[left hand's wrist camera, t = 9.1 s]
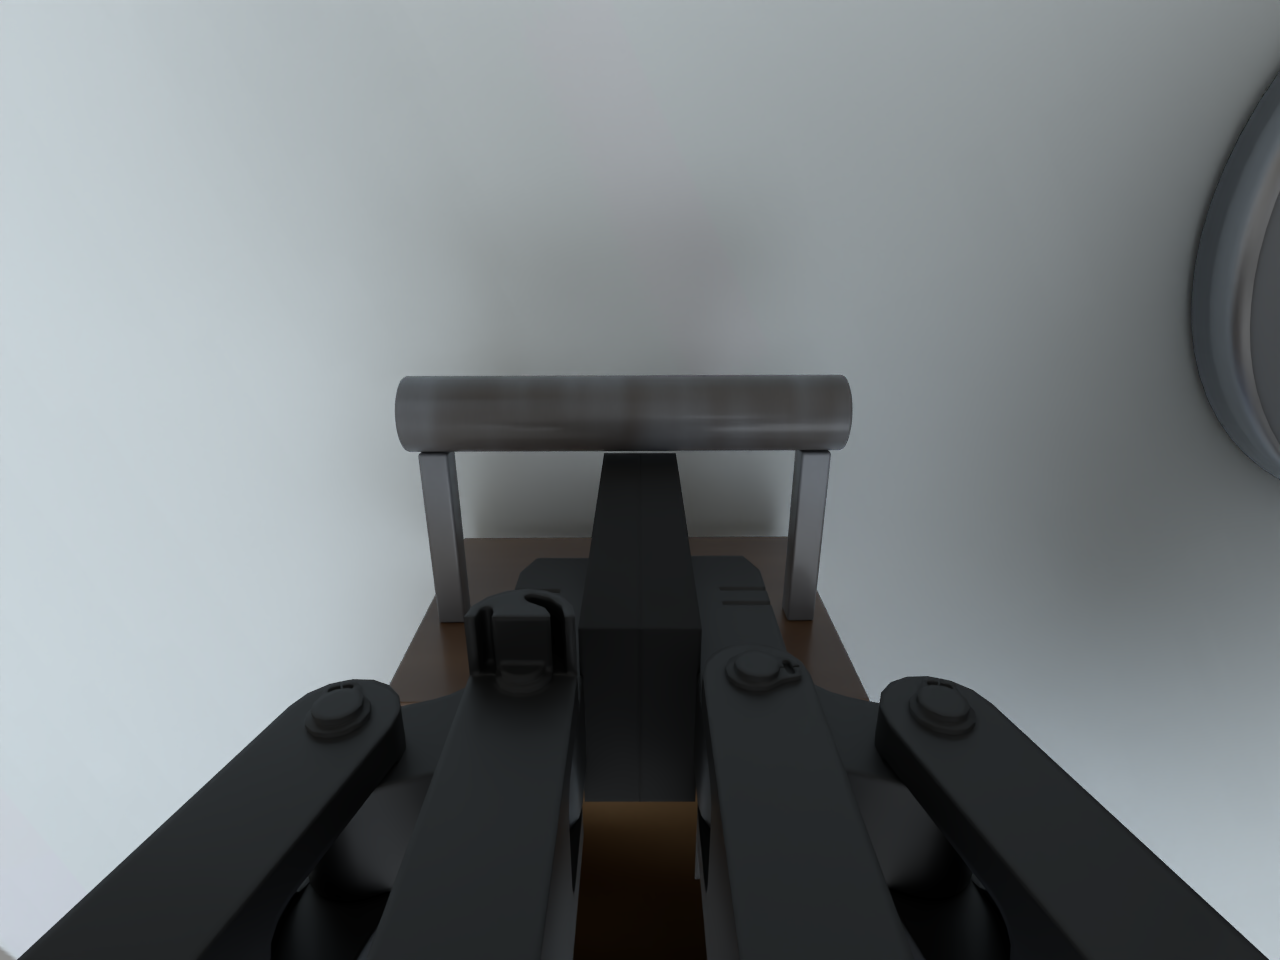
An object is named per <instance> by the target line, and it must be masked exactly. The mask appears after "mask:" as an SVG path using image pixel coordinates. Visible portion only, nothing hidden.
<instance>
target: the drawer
mask: <svg viewBox="0 0 1280 960" xmlns="http://www.w3.org/2000/svg"><path fill="white" fill-rule="evenodd" d="M395 421H396V428H397V433H398V437H399V440H400V442H401V445H402V446H403V448H404V449H405V450H407V451H409V452H421V453H420V454H419V456H418V457H419V465H420V473H421V481H422V489H423V497H424V505H425V513H426V521H427V529H428V537H429V545H430V553H431V561H432V568H433V576H434V584H435V592H436V595H435V597H434V598H433V600H432V602H431V604H430V606H429V608H428V610H427V612H426V614H425V616H424V618H423V620H422V622H421V624H420V626H419V628H418V630H417V632H416V634H415V636H414V638H413V640H412V642H411V644H410V646H409V648H408V649H407V651H406V653H405V655H404V657H403V659H402V661H401V663H400V665H399V667H398V669H397V671H396V673H395V675H394V677H393V679H392V681H391V683H390V686H391V687H392V688H393V690H394V691H395V692H396V693H397V694H398V695H399V698H400V704H401V706H404V705H409V704H414V703H418V702H423V701H428V700H432V699H436V698H439V697H443V696H446V695H450V694H452V693H454V692H456V691H458V690H461V689H463V688H465V686H466V684H467V681H468V678H469V675H470V673H469V664H468V654H467V645H466V636H465V626H464V616H465V614H466V613H467V612H468V611H469V609H470V608H471V607H472V606H473V605H475V604H476V603H478V602H480V601H481V600H483V599H485V598H486V597H488V596H491V595H495V594H498V593H501V592H504V591H509V590H515V587H516V584H517V581H518V578H519V575H520V572H521V571H523V570H524V569H525V568H526V567H527V566H528V565H529V564H531V563H532V562H533V561H534V560H535V559H536V558H589V552H590V546H591V539H592V538H465V539H463V529H462V520H461V510H460V501H459V491H458V482H457V472H456V463H455V453H454V452H476V451H709V450H795V462H794V474H793V485H792V497H791V509H790V520H789V532H788V537H688V539H689V546H690V552H691V556H744V557H745V558H746V559H747V560H749V561H750V562H751V563H752V564H753V565H754V566H756V567H757V568H758V569H759V570H760V572H761V575H762V578H763V581H764V584H765V587H766V588H765V589H766V590H767V593H768V596H769V599H770V605H772V608H773V611H774V614H775V617H776V620H777V623H778V626H779V629H780V632H781V635H782V638H783V641H784V644H785V647H786V650H787V652H788V653H790V654H791V655H793V656H794V657H796V658H797V659H799V660H800V661H801V662H802V663H803V664H804V666H805V667H806V669H807V670H808V671H809V673H810V675H811V677H812V680H813V683H814V684H815V685H817V686H819V687H821V688H824V689H826V690H828V691H830V692H833V693H837V694H840V695H844V696H847V697H852V698H857V699H861V700H866V701H869V698H868V696H867V694H866V692H865V690H864V687H863V685H862V683H861V681H860V679H859V677H858V675H857V673H856V671H855V669H854V667H853V665H852V662H851V660H850V658H849V656H848V654H847V652H846V650H845V648H844V646H843V644H842V642H841V640H840V637H839V635H838V633H837V631H836V629H835V627H834V625H833V623H832V621H831V619H830V617H829V615H828V612H827V610H826V608H825V606H824V604H823V602H822V600H821V598H820V596H819V594H818V592H817V580H818V571H819V562H820V552H821V543H822V533H823V524H824V514H825V505H826V495H827V486H828V476H829V467H830V457H831V454H830V452H829V451H828V450H840V449H842V448H844V446H845V445H846V443H847V441H848V438H849V434H850V430H851V424H852V396H851V390H850V386H849V383H848V381H847V379H846V378H845V377H844V376H842V375H652V376H407V377H404V378H403V379H402V380H401V381H400V383H399V386H398V389H397V394H396V400H395ZM697 806H698V802H697V792H696V800H695V802H585V800H584V796H583V832H584V838H583V849H582V861H581V872H580V884H579V895H578V907H577V918H576V930H575V941H574V953H573V960H707V952H706V940H705V929H704V917H703V906H702V894H701V883H700V879H695V857H696V832H697Z"/></svg>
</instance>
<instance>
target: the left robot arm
mask: <svg viewBox="0 0 1280 960" xmlns="http://www.w3.org/2000/svg"><path fill="white" fill-rule="evenodd" d="M1192 334H1193V344H1194V352H1195V357H1196V362H1197V366H1198V371H1199V376H1200V378H1201V381H1202V384H1203V387H1204V390H1205V393H1206V396H1207V399H1208V401H1209V403H1210V405H1211V407H1212V409H1213V411H1214V413H1215V415H1216V417H1217V419H1218V420H1219V422H1220V423H1221V425H1222V426H1223V427H1224V429H1225V430H1226V432H1227V433H1228V435H1229V436H1230V438H1231V439H1232V440H1233V441H1234V442H1235V443H1236V444H1237V446H1238V447H1239V448H1240V449H1241V450H1242V451H1243V452H1244V453H1245V454H1246V455H1247V456H1248V457H1249V458H1250V459H1252V460H1253V461H1254V462H1255V463H1256V464H1258V465H1259V466H1260V467H1261V468H1262V469H1264V470H1266V471H1267V472H1269V473H1270V474H1272V475H1273V476H1275V477H1276V478H1278V479H1280V72H1279V73H1278V75H1277V76H1276V78H1275V79H1274V81H1273V82H1272V84H1271V85H1270V87H1269V88H1268V90H1267V91H1266V93H1265V94H1264V96H1263V97H1262V98H1261V100H1260V101H1259V103H1258V105H1257V107H1256V108H1255V110H1254V112H1253V114H1252V115H1251V117H1250V119H1249V121H1248V122H1247V124H1246V126H1245V128H1244V129H1243V131H1242V133H1241V135H1240V137H1239V139H1238V141H1237V143H1236V145H1235V147H1234V149H1233V151H1232V153H1231V155H1230V157H1229V160H1228V162H1227V164H1226V166H1225V168H1224V170H1223V173H1222V175H1221V178H1220V181H1219V183H1218V186H1217V188H1216V191H1215V193H1214V196H1213V199H1212V201H1211V204H1210V208H1209V211H1208V214H1207V218H1206V221H1205V224H1204V228H1203V231H1202V235H1201V239H1200V244H1199V249H1198V254H1197V259H1196V264H1195V271H1194V280H1193V290H1192ZM765 588H766V587H765V584H764V581H763V578H762V575H761V572H760V570H759V569H758V568H757V567H756V566H754V565H753V564H752V563H751V562H750V561H749V560H747V559H746V558H745V557H744V556H691V552H690V546H689V539H688V532H687V525H686V519H685V512H684V505H683V499H682V492H681V485H680V478H679V472H678V465H677V458H676V453H604V458H603V465H602V472H601V478H600V485H599V492H598V499H597V505H596V512H595V519H594V525H593V532H592V539H591V546H590V552H589V558H536V559H535V560H534V561H533V562H532V563H531V564H529V565H528V566H527V567H526V568H525V569H524V570H523V571H521V572H520V575H519V578H518V581H517V584H516V587H515V590H509V591H504V592H501V593H498V594H495V595H491V596H488V597H486V598H485V599H483V600H481V601H480V602H478V603H476V604H475V605H473V606H472V607H471V608H470V609H469V611H468V612H467V613H466V614H465V616H464V626H465V636H466V645H467V654H468V664H469V673H470V675H469V678H468V681H467V684H466V686H465V688H463V689H461V690H458V691H456V692H454V693H452V694H450V695H446V696H443V697H439V698H436V699H432V700H428V701H423V702H418V703H414V704H409V705H404V706H401V704H400V698H399V695H398V694H397V693H396V692H395V691H394V690H393V688H392V687H391V686H390V685H387V684H384V683H381V682H378V681H375V680H360V679H352V680H347V681H342V682H337V683H332V684H329V685H326V686H324V687H321V688H319V689H317V690H314V691H312V692H310V693H307V694H306V695H305V696H303V697H302V698H300V699H299V700H298V701H296V702H295V703H293V704H292V705H291V706H289V707H288V708H287V709H286V710H285V711H284V712H283V713H282V714H281V715H280V716H278V717H277V718H276V719H275V720H274V721H273V722H272V723H271V724H270V725H269V726H268V727H267V728H266V729H264V730H263V731H262V732H261V733H260V734H259V735H258V736H257V737H256V738H255V739H254V740H253V741H252V742H251V743H249V744H248V745H247V746H246V747H245V748H244V749H243V750H242V751H241V752H240V753H239V754H238V755H237V756H235V757H234V758H233V759H232V760H231V761H230V762H229V763H228V764H227V765H226V766H225V767H224V768H223V769H222V770H220V771H219V772H218V773H217V774H216V775H215V776H214V777H213V778H212V779H211V780H210V781H209V782H208V783H206V784H205V785H204V786H203V787H202V788H201V789H200V790H199V791H198V792H197V793H196V794H195V795H194V796H193V797H191V798H190V799H189V800H188V801H187V802H186V803H185V804H184V805H183V806H182V807H181V808H180V809H179V810H177V811H176V812H175V813H174V814H173V815H172V816H171V817H170V818H169V819H168V820H167V821H166V822H165V823H164V824H162V825H161V826H160V827H159V828H158V829H157V830H156V831H155V832H154V833H153V834H152V835H151V836H150V837H148V838H147V839H146V840H145V841H144V842H143V843H142V844H141V845H140V846H139V847H138V848H137V849H136V850H135V851H133V852H132V853H131V854H130V855H129V856H128V857H127V858H126V859H125V860H124V861H123V862H122V863H121V864H119V865H118V866H117V867H116V868H115V869H114V870H113V871H112V872H111V873H110V874H109V875H108V876H107V877H105V878H104V879H103V880H102V881H101V882H100V883H99V884H98V885H97V886H96V887H95V888H94V889H93V890H92V891H90V892H89V893H88V894H87V895H86V896H85V897H84V898H83V899H82V900H81V901H80V902H79V903H78V904H76V905H75V906H74V907H73V908H72V909H71V910H70V911H69V912H68V913H67V914H66V915H65V916H64V917H63V918H61V919H60V920H59V921H58V922H57V923H56V924H55V925H54V926H53V927H52V928H51V929H50V930H49V931H47V932H46V933H45V934H44V935H43V936H42V937H41V938H40V939H39V940H38V941H37V942H36V943H35V944H34V945H32V946H31V947H30V948H29V949H28V950H27V951H26V952H25V953H24V954H23V955H22V956H21V957H20V958H18V959H17V960H573V953H574V941H575V930H576V918H577V907H578V895H579V884H580V872H581V861H582V849H583V838H584V832H583V796H584V800H585V802H695V800H696V792H697V802H698V806H697V832H696V857H695V879H700V883H701V894H702V906H703V917H704V929H705V940H706V952H707V960H1269V959H1268V958H1267V957H1266V956H1264V955H1263V954H1262V953H1261V952H1260V951H1259V950H1258V949H1257V948H1256V947H1255V946H1254V945H1253V944H1251V943H1250V942H1249V941H1248V940H1247V939H1246V938H1245V937H1244V936H1243V935H1242V934H1241V933H1240V932H1238V931H1237V930H1236V929H1235V928H1234V927H1233V926H1232V925H1231V924H1230V923H1229V922H1228V921H1227V920H1225V919H1224V918H1223V917H1222V916H1221V915H1220V914H1219V913H1218V912H1217V911H1216V910H1215V909H1214V908H1212V907H1211V906H1210V905H1209V904H1208V903H1207V902H1206V901H1205V900H1204V899H1203V898H1202V897H1201V896H1199V895H1198V894H1197V893H1196V892H1195V891H1194V890H1193V889H1192V888H1191V887H1190V886H1189V885H1188V884H1186V883H1185V882H1184V881H1183V880H1182V879H1181V878H1180V877H1179V876H1178V875H1177V874H1176V873H1175V872H1173V871H1172V870H1171V869H1170V868H1169V867H1168V866H1167V865H1166V864H1165V863H1164V862H1163V861H1162V860H1161V859H1159V858H1158V857H1157V856H1156V855H1155V854H1154V853H1153V852H1152V851H1151V850H1150V849H1149V848H1148V847H1146V846H1145V845H1144V844H1143V843H1142V842H1141V841H1140V840H1139V839H1138V838H1137V837H1136V836H1135V835H1133V834H1132V833H1131V832H1130V831H1129V830H1128V829H1127V828H1126V827H1125V826H1124V825H1123V824H1122V823H1120V822H1119V821H1118V820H1117V819H1116V818H1115V817H1114V816H1113V815H1112V814H1111V813H1110V812H1109V811H1107V810H1106V809H1105V808H1104V807H1103V806H1102V805H1101V804H1100V803H1099V802H1098V801H1097V800H1096V799H1094V798H1093V797H1092V796H1091V795H1090V794H1089V793H1088V792H1087V791H1086V790H1085V789H1084V788H1083V787H1081V786H1080V785H1079V784H1078V783H1077V782H1076V781H1075V780H1074V779H1073V778H1072V777H1071V776H1070V775H1068V774H1067V773H1066V772H1065V771H1064V770H1063V769H1062V768H1061V767H1060V766H1059V765H1058V764H1057V763H1056V762H1054V761H1053V760H1052V759H1051V758H1050V757H1049V756H1048V755H1047V754H1046V753H1045V752H1044V751H1043V750H1041V749H1040V748H1039V747H1038V746H1037V745H1036V744H1035V743H1034V742H1033V741H1032V740H1031V739H1030V738H1028V737H1027V736H1026V735H1025V734H1024V733H1023V732H1022V731H1021V730H1020V729H1019V728H1018V727H1017V726H1015V725H1014V724H1013V723H1012V722H1011V721H1010V720H1009V719H1008V718H1007V717H1006V716H1005V715H1004V714H1002V713H1001V712H1000V711H999V710H998V709H997V708H996V707H995V706H994V705H993V704H992V703H990V702H989V701H987V700H986V699H985V698H983V697H982V696H980V695H979V694H978V693H976V692H975V691H973V690H971V689H969V688H966V687H964V686H962V685H959V684H957V683H954V682H952V681H949V680H944V679H939V678H934V677H929V676H920V677H905V678H902V679H899V680H896V681H893V682H891V683H890V684H889V685H888V686H887V687H886V688H885V689H884V690H883V691H882V692H881V698H880V703H875V702H871V701H866V700H861V699H857V698H852V697H847V696H844V695H840V694H837V693H833V692H830V691H828V690H826V689H824V688H821V687H819V686H817V685H815V684H814V683H813V680H812V677H811V675H810V673H809V671H808V670H807V669H806V667H805V666H804V664H803V663H802V662H801V661H800V660H799V659H797V658H796V657H794V656H793V655H791V654H790V653H788V652H787V650H786V647H785V644H784V641H783V638H782V635H781V632H780V629H779V626H778V623H777V620H776V617H775V614H774V611H773V608H772V605H770V599H769V596H768V593H767V590H766V589H765Z"/></svg>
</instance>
